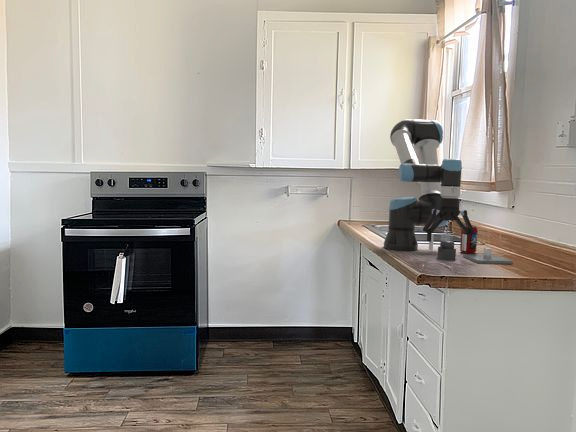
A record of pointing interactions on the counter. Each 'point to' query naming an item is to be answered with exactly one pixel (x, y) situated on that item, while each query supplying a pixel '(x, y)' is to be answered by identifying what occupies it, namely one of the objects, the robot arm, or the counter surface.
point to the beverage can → (470, 241)
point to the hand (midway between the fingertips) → (447, 250)
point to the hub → (487, 258)
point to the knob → (446, 250)
